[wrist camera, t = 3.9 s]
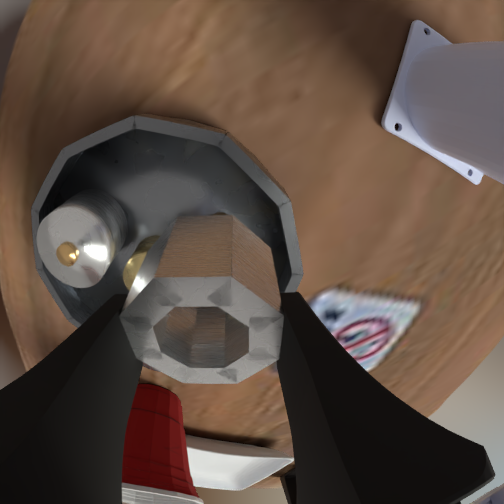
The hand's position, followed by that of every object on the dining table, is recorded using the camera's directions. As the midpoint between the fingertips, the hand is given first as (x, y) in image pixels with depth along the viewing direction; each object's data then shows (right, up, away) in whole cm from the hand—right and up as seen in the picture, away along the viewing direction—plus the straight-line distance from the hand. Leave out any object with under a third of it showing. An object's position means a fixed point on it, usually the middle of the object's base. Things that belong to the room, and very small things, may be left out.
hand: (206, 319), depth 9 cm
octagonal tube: (0, +1, +2) cm, 2 cm away
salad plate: (-7, -28, +26) cm, 39 cm away
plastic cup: (-8, -13, +17) cm, 23 cm away
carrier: (-4, +2, +9) cm, 10 cm away
